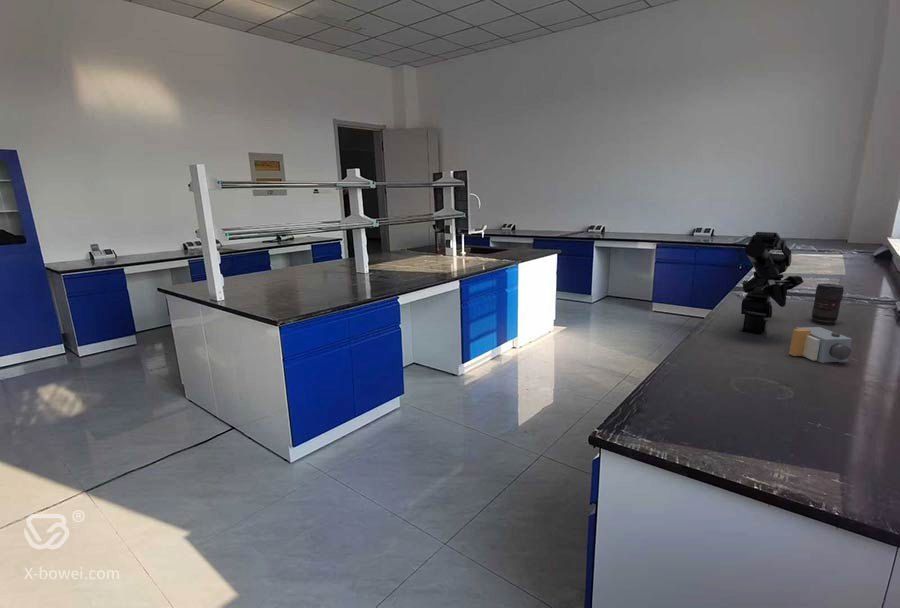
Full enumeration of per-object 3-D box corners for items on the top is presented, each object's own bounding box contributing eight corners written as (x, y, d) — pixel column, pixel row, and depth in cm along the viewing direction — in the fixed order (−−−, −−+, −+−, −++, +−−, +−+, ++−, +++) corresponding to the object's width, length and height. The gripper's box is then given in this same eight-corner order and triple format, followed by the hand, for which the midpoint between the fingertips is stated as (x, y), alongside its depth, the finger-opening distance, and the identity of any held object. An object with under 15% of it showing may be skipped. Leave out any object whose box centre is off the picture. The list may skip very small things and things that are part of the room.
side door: (789, 353, 144) (793, 329, 142) (801, 353, 144) (806, 328, 142) (803, 360, 139) (808, 335, 137) (816, 360, 139) (821, 334, 137)
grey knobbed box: (791, 349, 149) (795, 325, 147) (815, 348, 149) (820, 324, 147) (827, 365, 135) (832, 339, 133) (854, 365, 135) (859, 338, 133)
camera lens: (841, 326, 172) (849, 287, 168) (817, 325, 173) (824, 287, 170) (829, 320, 179) (836, 283, 176) (806, 319, 181) (812, 282, 177)
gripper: (769, 276, 166) (788, 315, 159) (724, 278, 163) (741, 317, 156) (794, 260, 156) (814, 301, 149) (746, 262, 153) (765, 303, 146)
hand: (783, 306), depth 150 cm, fingers closed
